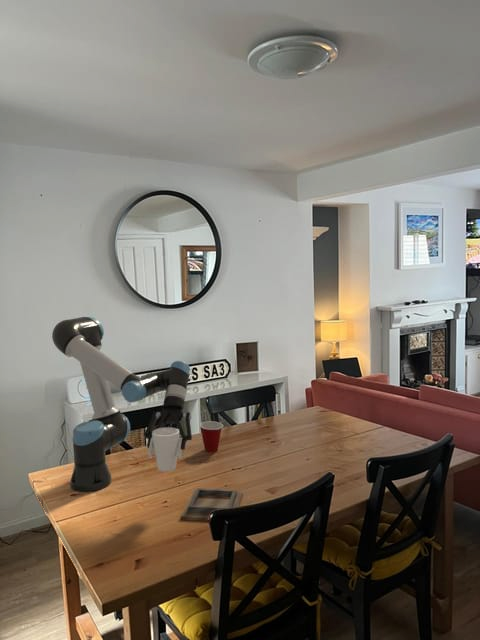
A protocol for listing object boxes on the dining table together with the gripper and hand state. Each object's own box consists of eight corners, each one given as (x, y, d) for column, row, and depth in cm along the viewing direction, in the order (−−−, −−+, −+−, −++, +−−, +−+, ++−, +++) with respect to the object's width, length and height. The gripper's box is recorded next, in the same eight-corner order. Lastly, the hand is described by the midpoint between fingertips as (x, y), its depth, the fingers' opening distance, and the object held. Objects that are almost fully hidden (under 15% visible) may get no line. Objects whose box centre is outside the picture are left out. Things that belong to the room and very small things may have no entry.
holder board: (180, 519, 174) (180, 510, 173) (194, 493, 193) (194, 484, 193) (234, 522, 171) (234, 512, 171) (242, 495, 191) (242, 486, 191)
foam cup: (182, 463, 187) (182, 427, 186) (177, 473, 178) (176, 436, 177) (156, 462, 188) (155, 427, 187) (149, 472, 179) (148, 435, 178)
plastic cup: (220, 454, 232) (220, 428, 230) (197, 453, 234) (196, 427, 233) (226, 446, 242) (225, 421, 241) (203, 445, 244) (202, 420, 243)
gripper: (205, 405, 195) (197, 463, 181) (147, 404, 198) (135, 460, 184) (202, 395, 189) (193, 453, 175) (143, 394, 192) (129, 451, 178)
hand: (163, 457), depth 180 cm, fingers closed on foam cup, 9 cm apart
